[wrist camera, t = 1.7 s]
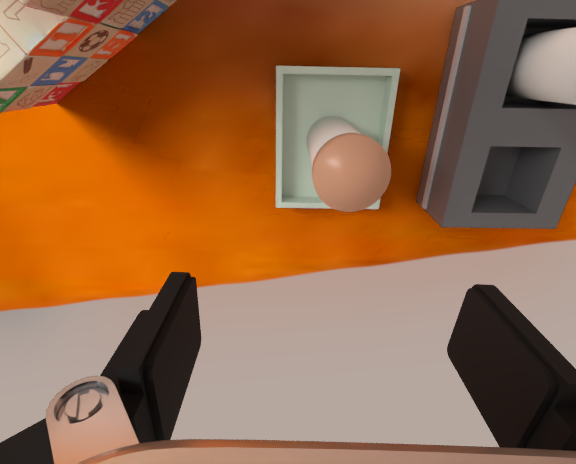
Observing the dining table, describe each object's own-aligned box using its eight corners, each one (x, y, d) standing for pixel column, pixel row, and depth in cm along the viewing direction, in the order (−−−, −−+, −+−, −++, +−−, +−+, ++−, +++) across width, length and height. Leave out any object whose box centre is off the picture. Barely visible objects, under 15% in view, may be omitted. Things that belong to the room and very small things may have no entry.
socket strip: (453, 7, 24) (497, -9, 19) (578, 10, 24) (655, -5, 19) (414, 201, 30) (439, 226, 25) (512, 203, 30) (555, 228, 26)
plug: (305, 112, 26) (315, 135, 17) (359, 113, 26) (397, 136, 17) (302, 166, 28) (310, 211, 19) (353, 166, 28) (385, 212, 19)
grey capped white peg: (492, 31, 23) (624, 6, 14) (554, 32, 23) (724, 8, 14) (475, 98, 25) (582, 114, 16) (532, 99, 25) (670, 116, 16)
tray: (276, 65, 25) (276, 65, 23) (392, 68, 25) (400, 68, 24) (276, 199, 30) (275, 207, 28) (373, 200, 30) (378, 209, 28)
